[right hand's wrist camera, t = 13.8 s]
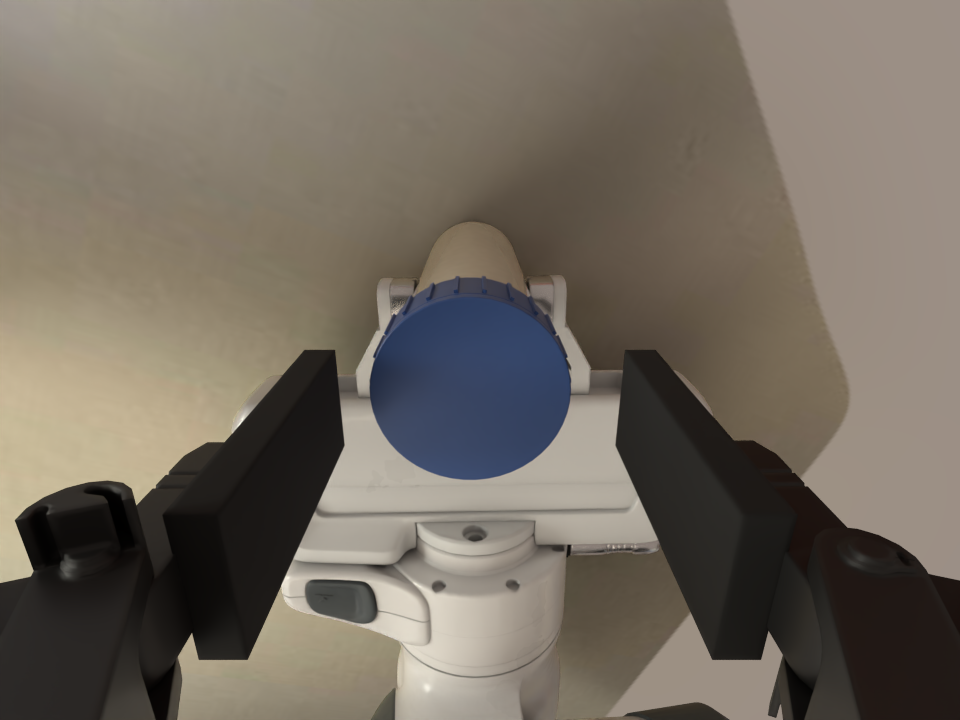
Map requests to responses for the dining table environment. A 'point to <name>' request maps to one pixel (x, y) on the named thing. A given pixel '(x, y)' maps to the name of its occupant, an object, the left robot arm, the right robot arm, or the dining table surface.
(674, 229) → the dining table surface
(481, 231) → the jar
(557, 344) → the lid
